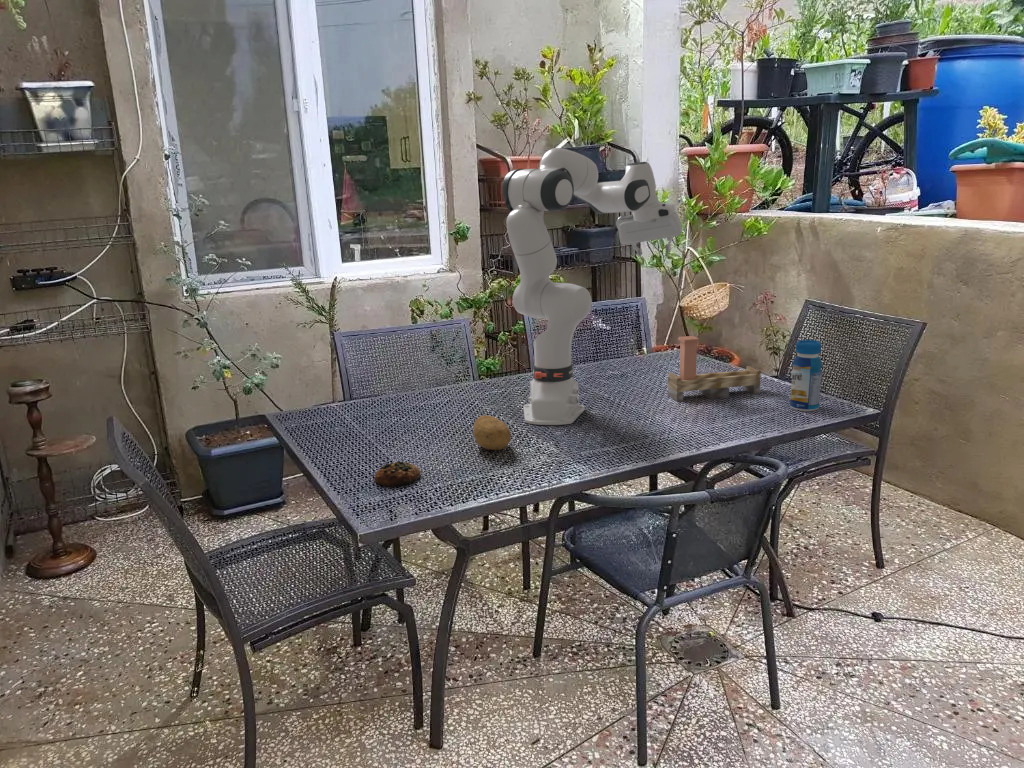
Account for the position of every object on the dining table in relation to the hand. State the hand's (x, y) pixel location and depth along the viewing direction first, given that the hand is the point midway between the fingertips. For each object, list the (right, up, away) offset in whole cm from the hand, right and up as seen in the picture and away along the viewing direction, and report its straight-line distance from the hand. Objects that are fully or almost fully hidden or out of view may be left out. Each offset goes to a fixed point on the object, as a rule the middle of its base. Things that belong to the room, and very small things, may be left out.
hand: (654, 252), depth 245 cm
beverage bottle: (+40, -51, -25) cm, 69 cm away
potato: (-52, -61, -48) cm, 93 cm away
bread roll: (-74, -67, -66) cm, 120 cm away
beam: (+17, -47, -8) cm, 51 cm away
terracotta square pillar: (+8, -43, -11) cm, 45 cm away
